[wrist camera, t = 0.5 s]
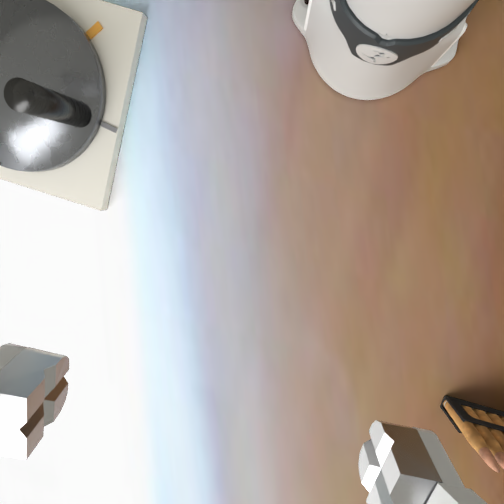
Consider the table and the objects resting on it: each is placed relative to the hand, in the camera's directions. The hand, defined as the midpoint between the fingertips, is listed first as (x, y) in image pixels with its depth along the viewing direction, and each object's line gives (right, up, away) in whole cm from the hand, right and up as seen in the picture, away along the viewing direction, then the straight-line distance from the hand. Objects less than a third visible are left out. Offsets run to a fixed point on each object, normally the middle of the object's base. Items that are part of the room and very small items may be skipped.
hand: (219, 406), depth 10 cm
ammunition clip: (+32, -17, +40) cm, 54 cm away
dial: (-27, +24, +35) cm, 50 cm away
